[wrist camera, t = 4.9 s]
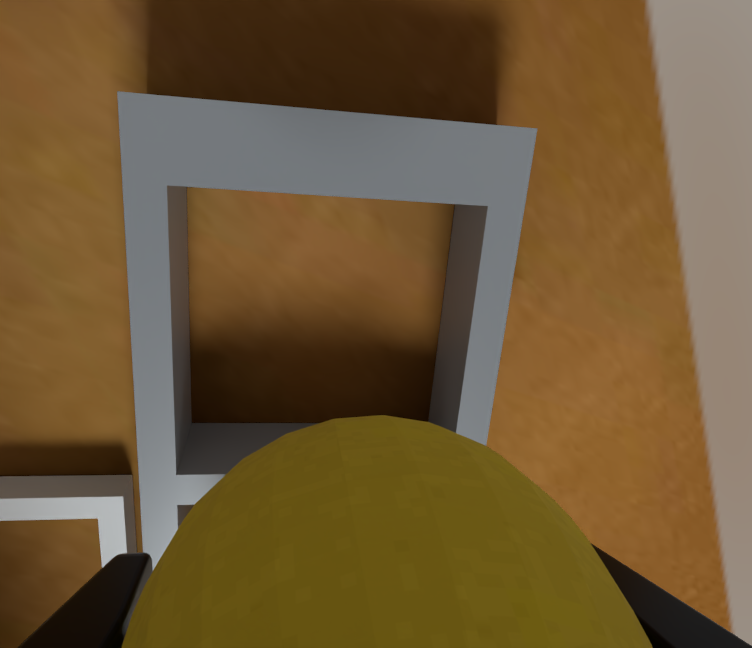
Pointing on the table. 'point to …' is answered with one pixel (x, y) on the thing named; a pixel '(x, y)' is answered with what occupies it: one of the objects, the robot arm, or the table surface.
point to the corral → (76, 505)
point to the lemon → (380, 552)
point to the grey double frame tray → (313, 177)
